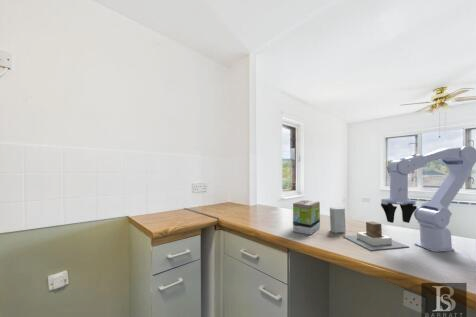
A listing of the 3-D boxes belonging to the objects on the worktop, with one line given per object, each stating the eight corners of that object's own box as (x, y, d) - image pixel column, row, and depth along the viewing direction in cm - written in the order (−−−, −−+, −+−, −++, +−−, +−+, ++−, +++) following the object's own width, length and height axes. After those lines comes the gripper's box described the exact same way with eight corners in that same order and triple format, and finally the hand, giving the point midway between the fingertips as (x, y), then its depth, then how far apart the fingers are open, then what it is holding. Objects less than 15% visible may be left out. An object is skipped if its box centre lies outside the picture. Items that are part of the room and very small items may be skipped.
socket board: (376, 234, 98) (375, 228, 98) (409, 247, 83) (408, 240, 83) (343, 237, 95) (343, 230, 95) (370, 250, 80) (370, 243, 80)
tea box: (312, 235, 98) (311, 205, 99) (292, 231, 104) (291, 203, 105) (320, 227, 110) (319, 200, 111) (302, 224, 116) (301, 199, 117)
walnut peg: (374, 239, 91) (373, 221, 91) (382, 242, 87) (381, 223, 87) (366, 239, 90) (365, 221, 91) (374, 243, 86) (373, 224, 87)
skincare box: (340, 229, 106) (340, 206, 107) (346, 232, 102) (345, 208, 102) (329, 230, 106) (329, 207, 106) (334, 233, 101) (334, 208, 102)
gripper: (404, 188, 88) (403, 219, 88) (375, 187, 86) (374, 219, 85) (421, 190, 81) (420, 224, 81) (390, 189, 79) (389, 224, 78)
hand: (398, 222), depth 83 cm, fingers open, 7 cm apart
